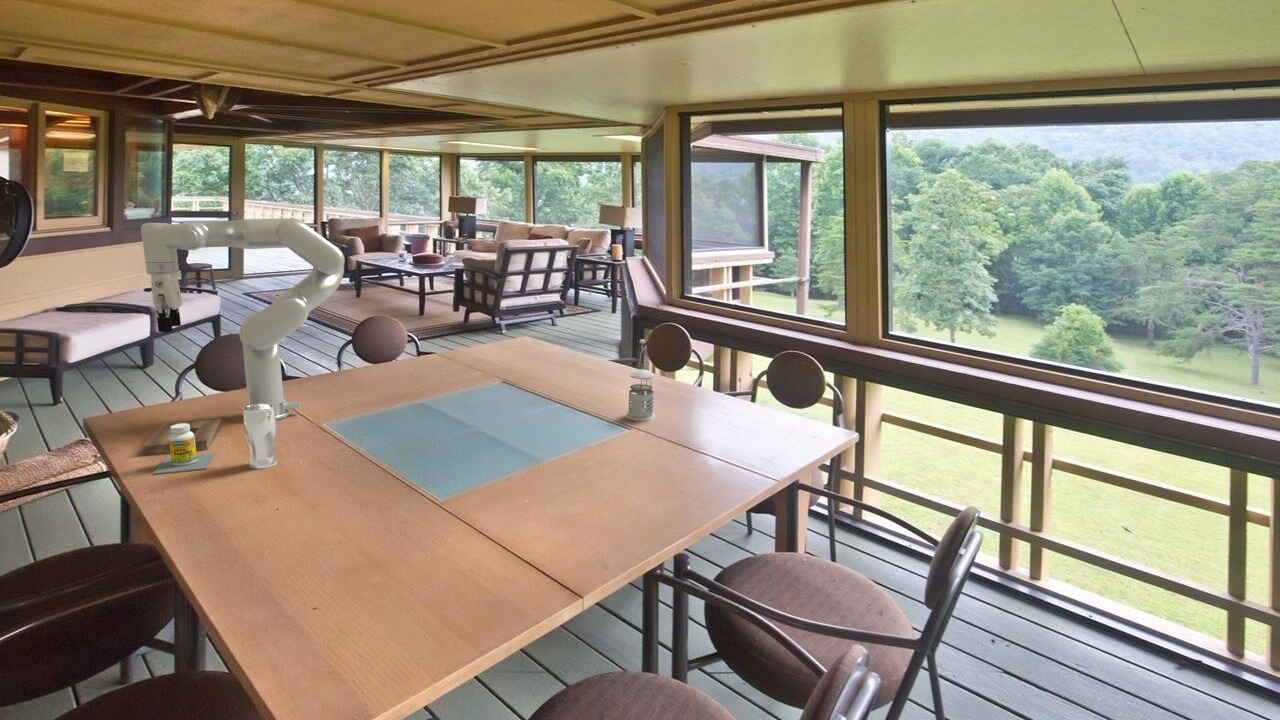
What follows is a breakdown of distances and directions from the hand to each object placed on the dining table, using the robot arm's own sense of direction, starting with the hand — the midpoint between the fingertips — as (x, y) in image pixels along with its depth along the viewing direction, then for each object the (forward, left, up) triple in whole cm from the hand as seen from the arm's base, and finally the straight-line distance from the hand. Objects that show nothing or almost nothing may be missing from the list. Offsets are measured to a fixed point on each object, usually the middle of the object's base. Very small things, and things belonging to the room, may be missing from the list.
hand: (170, 328), depth 196 cm
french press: (-132, +31, -28) cm, 139 cm away
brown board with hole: (-4, +16, -28) cm, 33 cm away
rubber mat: (-8, +36, -28) cm, 46 cm away
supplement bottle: (-8, +36, -28) cm, 46 cm away
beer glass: (-26, +42, -28) cm, 57 cm away
